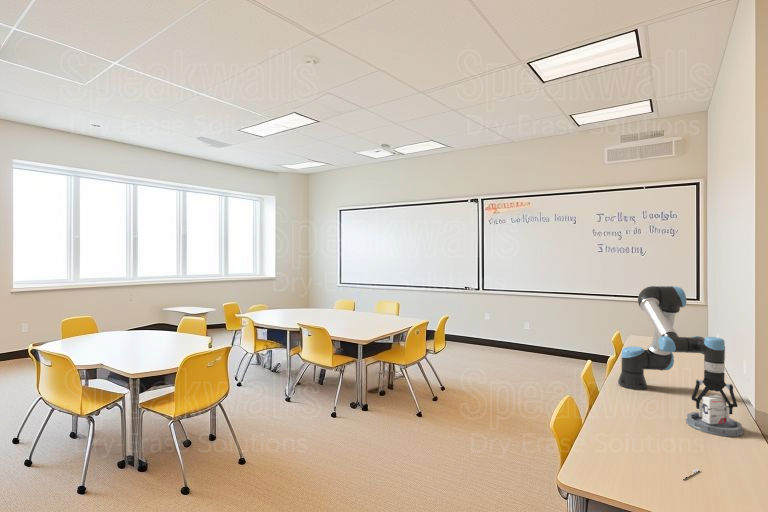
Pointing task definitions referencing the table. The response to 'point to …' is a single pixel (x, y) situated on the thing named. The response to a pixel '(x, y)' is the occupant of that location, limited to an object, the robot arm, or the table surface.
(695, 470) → the grey thin rod
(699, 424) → the round bowl
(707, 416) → the ink box
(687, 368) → the table surface
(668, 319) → the robot arm
